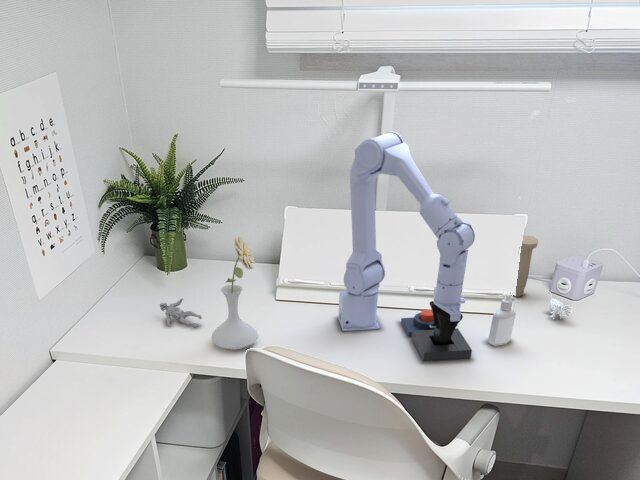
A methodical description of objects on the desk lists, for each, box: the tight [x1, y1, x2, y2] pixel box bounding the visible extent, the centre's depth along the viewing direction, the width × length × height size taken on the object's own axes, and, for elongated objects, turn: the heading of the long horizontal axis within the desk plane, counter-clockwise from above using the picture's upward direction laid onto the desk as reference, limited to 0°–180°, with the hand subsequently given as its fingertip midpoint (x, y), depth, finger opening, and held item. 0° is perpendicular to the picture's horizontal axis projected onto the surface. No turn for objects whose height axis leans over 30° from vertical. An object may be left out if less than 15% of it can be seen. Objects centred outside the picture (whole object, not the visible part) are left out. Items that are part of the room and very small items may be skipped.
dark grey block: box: [430, 323, 459, 346], centre depth 159 cm, size 6×4×7 cm, turn 95°
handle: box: [516, 235, 539, 298], centre depth 180 cm, size 5×6×15 cm
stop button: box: [420, 309, 434, 322], centre depth 167 cm, size 4×4×2 cm
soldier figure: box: [159, 297, 203, 328], centre depth 174 cm, size 8×5×12 cm
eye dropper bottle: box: [487, 293, 517, 347], centre depth 160 cm, size 4×6×12 cm
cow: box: [548, 290, 573, 320], centre depth 173 cm, size 12×5×5 cm, turn 179°
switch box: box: [400, 312, 434, 338], centre depth 169 cm, size 11×8×3 cm
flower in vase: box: [210, 235, 259, 350], centre depth 158 cm, size 13×11×25 cm
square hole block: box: [411, 327, 473, 363], centre depth 160 cm, size 11×11×2 cm
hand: (442, 336), depth 159 cm, fingers closed on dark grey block, 4 cm apart
